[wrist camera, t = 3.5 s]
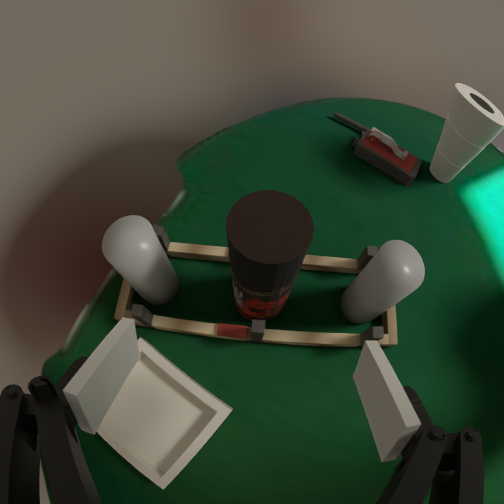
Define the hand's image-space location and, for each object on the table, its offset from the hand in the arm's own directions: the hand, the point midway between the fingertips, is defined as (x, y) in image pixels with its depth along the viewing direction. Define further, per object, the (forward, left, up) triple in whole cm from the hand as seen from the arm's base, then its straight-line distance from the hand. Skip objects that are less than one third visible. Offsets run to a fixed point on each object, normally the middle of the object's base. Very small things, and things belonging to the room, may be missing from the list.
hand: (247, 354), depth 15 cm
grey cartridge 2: (-14, +7, -15) cm, 22 cm away
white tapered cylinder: (-47, +11, -15) cm, 51 cm away
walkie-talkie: (-42, -2, -16) cm, 45 cm away
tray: (+10, -5, -15) cm, 19 cm away
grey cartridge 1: (-2, -14, -15) cm, 21 cm away
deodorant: (-8, -4, -15) cm, 18 cm away
